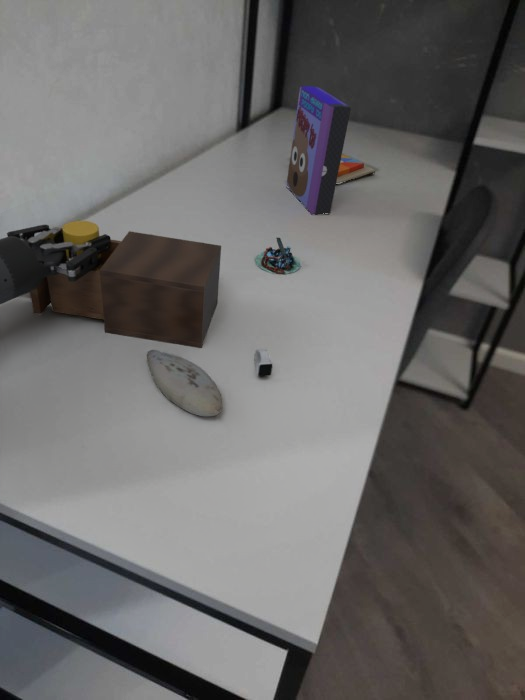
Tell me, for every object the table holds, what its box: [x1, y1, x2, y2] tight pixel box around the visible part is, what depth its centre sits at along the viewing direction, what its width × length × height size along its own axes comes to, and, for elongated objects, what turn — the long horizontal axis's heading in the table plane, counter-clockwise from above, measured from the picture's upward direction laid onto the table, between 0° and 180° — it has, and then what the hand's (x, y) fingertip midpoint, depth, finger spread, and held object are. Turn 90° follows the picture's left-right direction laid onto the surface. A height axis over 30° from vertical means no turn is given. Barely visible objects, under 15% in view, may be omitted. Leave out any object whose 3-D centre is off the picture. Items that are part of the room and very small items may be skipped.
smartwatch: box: [253, 348, 274, 377], centre depth 74 cm, size 4×2×4 cm, turn 13°
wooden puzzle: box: [336, 153, 376, 183], centre depth 148 cm, size 18×19×4 cm
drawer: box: [29, 227, 122, 320], centre depth 80 cm, size 18×12×9 cm, turn 83°
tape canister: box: [61, 220, 102, 269], centre depth 78 cm, size 5×5×8 cm
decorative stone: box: [145, 349, 223, 417], centre depth 69 cm, size 6×16×3 cm, turn 45°
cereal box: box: [286, 85, 352, 215], centre depth 122 cm, size 17×5×24 cm, turn 18°
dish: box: [254, 236, 301, 275], centre depth 102 cm, size 8×7×8 cm
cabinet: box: [99, 230, 222, 349], centre depth 80 cm, size 15×13×11 cm
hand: (95, 234), depth 78 cm, fingers closed on tape canister, 5 cm apart
